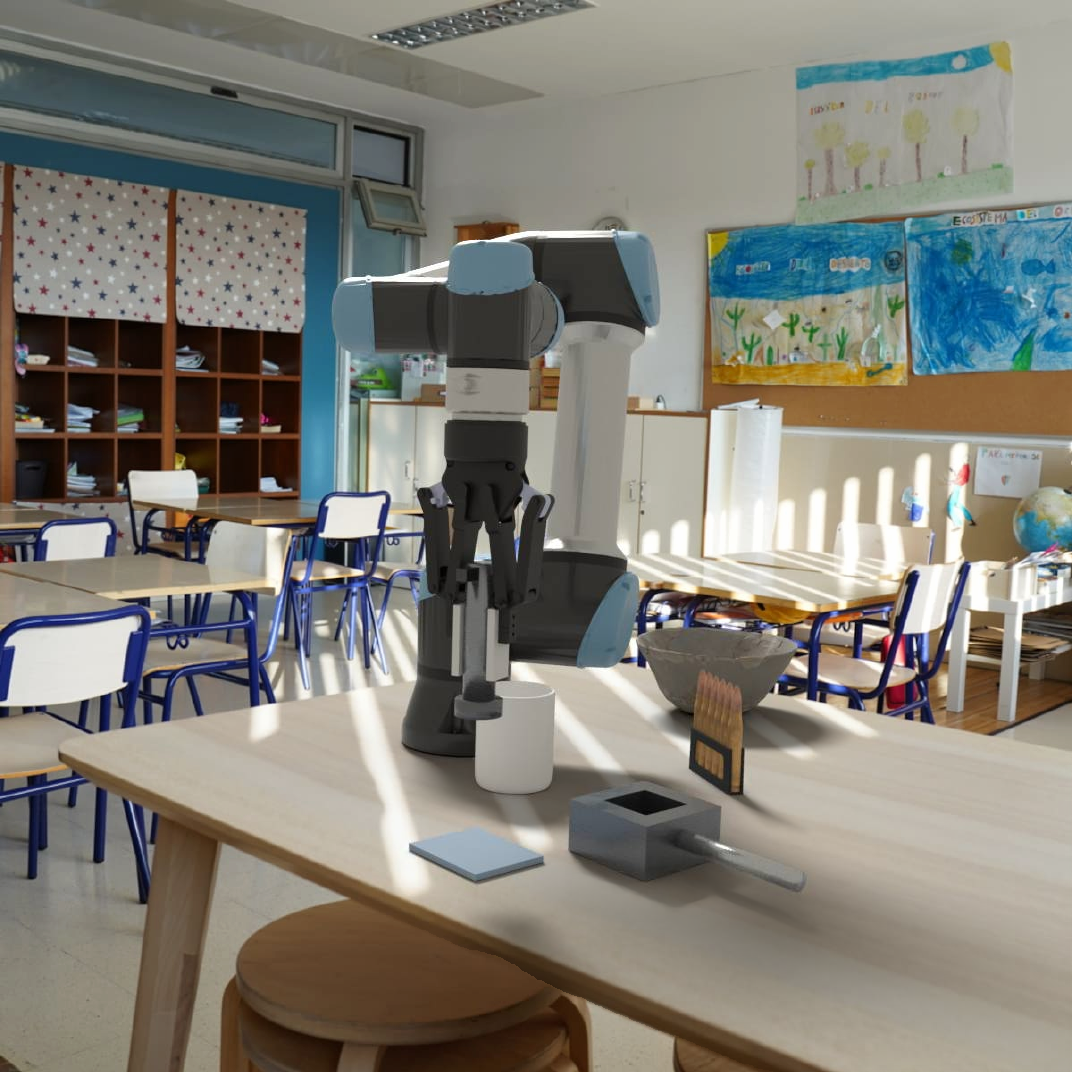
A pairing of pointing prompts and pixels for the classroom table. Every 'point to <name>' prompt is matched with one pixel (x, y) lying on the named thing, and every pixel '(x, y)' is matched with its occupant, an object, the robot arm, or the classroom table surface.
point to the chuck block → (661, 835)
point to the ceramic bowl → (715, 661)
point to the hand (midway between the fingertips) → (479, 675)
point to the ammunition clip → (718, 735)
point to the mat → (476, 853)
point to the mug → (517, 740)
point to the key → (477, 645)
